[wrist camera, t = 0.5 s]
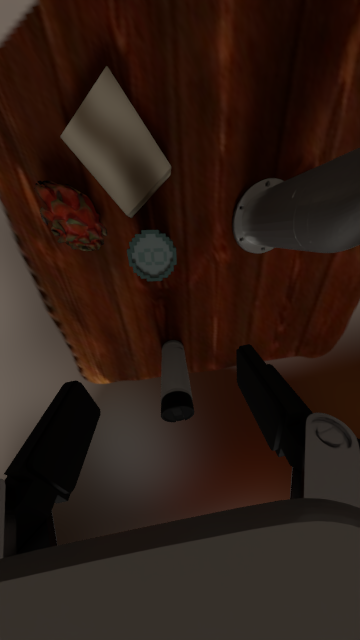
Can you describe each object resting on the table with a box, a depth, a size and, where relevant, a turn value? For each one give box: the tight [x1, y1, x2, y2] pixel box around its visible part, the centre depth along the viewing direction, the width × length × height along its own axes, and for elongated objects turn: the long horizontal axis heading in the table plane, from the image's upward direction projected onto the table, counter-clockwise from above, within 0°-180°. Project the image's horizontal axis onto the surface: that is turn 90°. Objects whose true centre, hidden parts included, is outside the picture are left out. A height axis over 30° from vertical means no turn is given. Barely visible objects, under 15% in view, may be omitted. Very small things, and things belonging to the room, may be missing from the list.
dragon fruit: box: [36, 181, 107, 251], centre depth 27 cm, size 8×8×12 cm
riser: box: [60, 66, 171, 218], centre depth 25 cm, size 10×12×4 cm
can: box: [127, 230, 177, 281], centre depth 27 cm, size 6×6×15 cm
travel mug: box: [161, 340, 194, 422], centre depth 37 cm, size 6×7×20 cm
